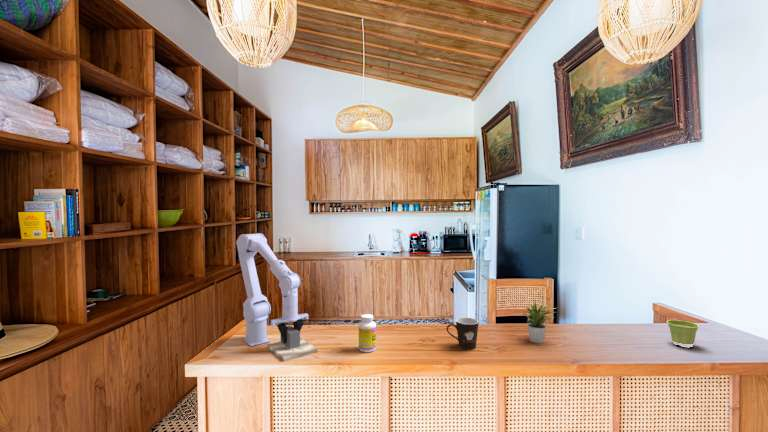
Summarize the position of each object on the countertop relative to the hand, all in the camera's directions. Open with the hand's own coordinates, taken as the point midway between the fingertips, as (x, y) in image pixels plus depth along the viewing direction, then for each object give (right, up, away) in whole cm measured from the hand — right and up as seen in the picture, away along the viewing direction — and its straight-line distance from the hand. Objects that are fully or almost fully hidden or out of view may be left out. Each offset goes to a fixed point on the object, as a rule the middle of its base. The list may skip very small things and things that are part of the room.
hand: (290, 341), depth 131 cm
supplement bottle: (+30, -3, -1) cm, 30 cm away
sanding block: (0, -2, 0) cm, 2 cm away
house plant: (+97, -3, +5) cm, 98 cm away
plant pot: (+152, -2, +1) cm, 152 cm away
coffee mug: (+67, -3, +2) cm, 67 cm away
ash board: (+1, -3, -1) cm, 3 cm away
